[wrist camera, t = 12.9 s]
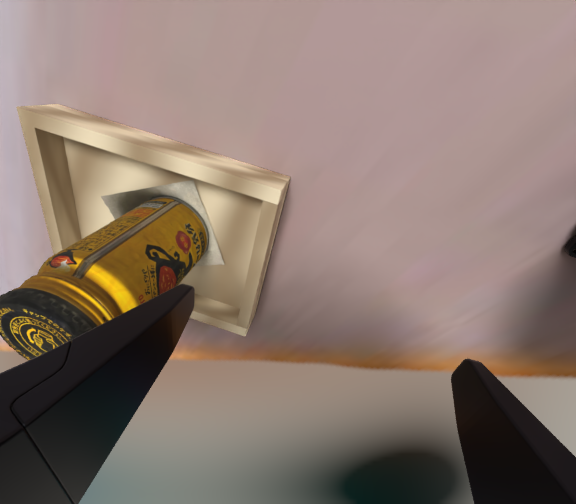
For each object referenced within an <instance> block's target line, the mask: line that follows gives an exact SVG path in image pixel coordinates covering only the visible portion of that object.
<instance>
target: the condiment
mask: <svg viewBox="0 0 576 504" xmlns="http://www.w3.org/2000/svg"><path fill="white" fill-rule="evenodd" d="M101 198H102V199H103V201H104V203H105V205H106V206H107V207H108V208H109V210H110V212H111V214H112V215H113V217H114V219H115V220H114V221H112V222H110V223H109V224H107V225H106V226H104V227H102V228H100V229H99V230H97V231H95V232H94V233H92V234H90V235H88V236H86V237H85V238H83V239H81V240H80V241H78V242H76V243H74V244H72V245H71V246H69V247H67V248H66V249H63V250H61V251H60V252H58V253H57V254H54V255H53V256H52V257H50V258H48V259H47V261H46V262H44V264H43V265H42V266H41V268H40V269H39V272H38V274H37V275H35V276H32V277H30V278H29V279H28V280H26V281H25V282H24V283H23V284H22V285H21V286H20V287H19V288H16V289H14V290H12V291H9V292H7V293H6V294H3V295H1V296H0V335H1V336H2V338H3V340H5V341H6V342H7V343H8V344H9V346H10V347H12V348H13V349H14V350H16V352H17V353H19V354H20V355H21V356H23V357H24V358H26V359H27V360H31V359H33V358H35V357H37V356H39V355H42V354H44V353H46V352H48V351H50V350H52V349H54V348H56V347H58V346H60V345H62V344H64V343H66V342H68V341H72V339H74V338H76V337H78V336H80V335H82V334H83V333H85V332H87V331H89V330H91V329H93V328H95V327H97V326H99V325H101V324H103V323H105V322H107V321H109V320H111V319H113V318H115V317H117V316H119V315H121V314H123V313H125V312H127V311H129V310H131V309H132V308H134V307H136V306H138V305H140V304H142V303H144V302H146V301H148V300H150V299H152V298H154V297H156V296H158V295H160V294H162V293H164V292H166V291H168V290H170V289H172V288H174V287H176V286H177V285H179V284H180V282H181V281H182V280H183V279H184V278H185V276H186V275H187V274H188V273H189V272H190V271H191V270H192V268H193V267H195V266H206V265H225V264H224V261H223V259H222V256H221V253H220V250H219V247H218V244H217V241H216V238H215V236H214V233H213V230H212V227H211V225H210V222H209V219H208V217H207V214H206V211H205V209H204V206H203V204H202V202H201V200H200V197H199V194H198V192H197V189H196V186H195V183H194V180H190V181H184V182H178V183H172V184H168V185H161V186H155V187H150V188H144V189H140V190H135V191H128V192H122V193H117V194H112V195H106V196H101Z"/></svg>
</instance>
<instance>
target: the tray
mask: <svg viewBox="0 0 576 504" xmlns="http://www.w3.org/2000/svg"><path fill="white" fill-rule="evenodd" d="M17 111H18V115H19V119H20V123H21V127H22V131H23V135H24V139H25V142H26V146H27V150H28V154H29V158H30V162H31V166H32V170H33V174H34V178H35V182H36V186H37V190H38V194H39V198H40V202H41V206H42V210H43V214H44V218H45V222H46V226H47V230H48V234H49V238H50V242H51V246H52V250H53V254H57V253H58V252H60V251H61V250H63V249H66V248H67V247H69V246H71V245H72V244H74V243H76V242H78V241H80V240H81V239H83V238H85V237H86V236H88V235H90V234H92V233H94V232H95V231H97V230H99V229H100V228H102V227H104V226H106V225H107V224H109V223H110V222H112V221H114V220H115V219H114V217H113V215H112V214H111V212H110V210H109V208H108V207H107V206H106V205H105V203H104V201H103V199H102V198H101V196H106V195H112V194H117V193H122V192H128V191H135V190H140V189H144V188H150V187H155V186H161V185H168V184H172V183H178V182H184V181H190V180H194V183H195V186H196V189H197V192H198V194H199V197H200V200H201V202H202V204H203V206H204V209H205V211H206V214H207V217H208V219H209V222H210V225H211V227H212V230H213V233H214V236H215V238H216V241H217V244H218V247H219V250H220V253H221V256H222V259H223V261H224V264H225V265H206V266H195V267H193V268H192V270H191V271H190V272H189V273H188V274H187V275H186V276H185V278H184V279H183V280H182V281H181V282H180V284H187V285H191V286H193V287H194V289H195V303H194V309H193V311H192V314H191V316H190V318H192V319H195V320H198V321H200V322H203V323H206V324H209V325H212V326H215V327H218V328H221V329H224V330H227V331H230V332H233V333H236V334H239V335H242V336H246V334H247V332H248V329H249V327H250V325H251V322H252V320H253V318H254V315H255V313H256V309H257V305H258V301H259V297H260V293H261V290H262V286H263V282H264V278H265V274H266V270H267V266H268V262H269V259H270V255H271V251H272V247H273V243H274V239H275V235H276V231H277V228H278V224H279V220H280V216H281V212H282V208H283V204H284V201H285V197H286V193H287V189H288V185H289V181H290V177H289V176H286V175H282V174H279V173H276V172H273V171H270V170H266V169H263V168H260V167H257V166H254V165H251V164H247V163H244V162H241V161H238V160H235V159H231V158H228V157H225V156H222V155H219V154H215V153H212V152H209V151H206V150H203V149H199V148H196V147H193V146H190V145H187V144H183V143H180V142H177V141H174V140H171V139H168V138H164V137H161V136H158V135H155V134H152V133H148V132H145V131H142V130H139V129H136V128H132V127H129V126H126V125H123V124H120V123H116V122H113V121H110V120H107V119H104V118H100V117H97V116H94V115H91V114H88V113H85V112H81V111H78V110H75V109H72V108H69V107H65V106H62V105H59V104H51V105H36V106H21V107H17ZM180 284H179V285H180ZM177 286H178V285H177Z"/></svg>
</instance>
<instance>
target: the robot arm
mask: <svg viewBox="0 0 576 504" xmlns="http://www.w3.org/2000/svg"><path fill="white" fill-rule="evenodd" d="M575 248H576V235H575V236H574V237H573V238H572V240H571V241H570V242H569V243H568V244H567V245H566V246H565V252H566V253H568V254H569V255H570V256H572V257H575V258H576V250H574V249H575ZM573 250H574V251H573ZM194 303H195V289H194V287H193V286H191V285H187V284H180V285H178V286H176V287H174V288H172V289H170V290H168V291H166V292H164V293H162V294H160V295H158V296H156V297H154V298H152V299H150V300H148V301H146V302H144V303H142V304H140V305H138V306H136V307H134V308H132V309H131V310H129V311H127V312H125V313H123V314H121V315H119V316H117V317H115V318H113V319H111V320H109V321H107V322H105V323H103V324H101V325H99V326H97V327H95V328H93V329H91V330H89V331H87V332H85V333H83V334H82V335H80V336H78V337H76V338H74V339H72V341H68V342H66V343H64V344H62V345H60V346H58V347H56V348H54V349H52V350H50V351H48V352H46V353H44V354H42V355H39V356H37V357H35V358H33V359H31V360H29V361H27V362H25V363H22V364H20V365H18V366H16V367H13V368H11V369H9V370H7V371H5V372H2V373H0V504H78V503H79V502H80V500H81V498H82V497H83V495H84V494H85V492H86V490H87V489H88V487H89V486H90V484H91V482H92V481H93V479H94V478H95V476H96V475H97V473H98V471H99V470H100V468H101V466H102V465H103V463H104V462H105V460H106V459H107V457H108V455H109V454H110V452H111V451H112V449H113V447H114V446H115V444H116V442H117V441H118V439H119V438H120V436H121V434H122V433H123V431H124V430H125V428H126V427H127V425H128V423H129V422H130V420H131V419H132V417H133V415H134V414H135V412H136V410H137V409H138V407H139V406H140V404H141V402H142V401H143V399H144V398H145V396H146V394H147V393H148V391H149V390H150V388H151V386H152V385H153V383H154V382H155V380H156V378H157V377H158V375H159V374H160V372H161V370H162V369H163V367H164V365H165V364H166V362H167V361H168V359H169V358H170V356H171V354H172V353H173V351H174V349H175V347H176V345H177V343H178V341H179V339H180V337H181V334H182V332H183V330H184V328H185V326H186V324H187V322H188V320H189V318H190V316H191V314H192V311H193V309H194ZM451 383H452V391H453V399H454V407H455V415H456V423H457V428H458V434H459V439H460V443H461V447H462V452H463V456H464V461H465V465H466V469H467V474H468V478H469V482H470V487H471V491H472V496H473V500H474V504H576V457H575V456H574V455H573V454H572V453H571V452H570V451H569V450H568V449H567V448H566V447H565V446H564V445H563V444H562V443H561V442H560V441H559V440H558V439H557V438H556V437H555V436H554V435H553V434H552V433H551V432H550V431H549V430H548V429H547V428H546V427H545V426H544V425H543V424H542V423H541V422H540V421H539V420H538V419H537V418H536V417H535V416H534V415H533V414H532V413H531V412H530V411H529V410H528V409H527V408H526V407H525V406H524V405H523V404H522V403H521V402H520V401H519V400H518V399H517V398H516V397H515V396H514V395H513V394H512V393H511V392H510V391H509V390H508V389H507V388H506V387H505V386H504V385H503V384H502V383H501V382H500V381H499V380H498V379H497V378H496V377H495V376H494V375H493V374H492V373H491V372H490V371H489V370H488V369H487V368H486V367H485V366H484V365H483V364H482V363H481V362H479V361H475V360H471V359H465V360H463V361H462V363H461V364H460V365H459V366H458V367H457V369H456V370H455V371H454V372H453V374H452V377H451Z"/></svg>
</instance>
